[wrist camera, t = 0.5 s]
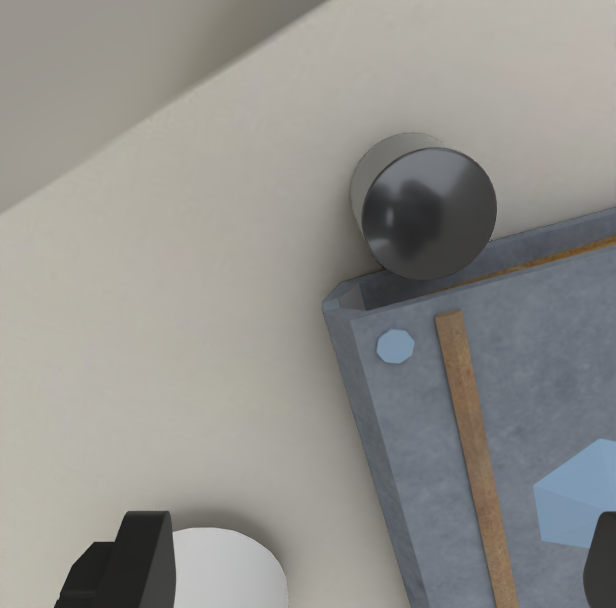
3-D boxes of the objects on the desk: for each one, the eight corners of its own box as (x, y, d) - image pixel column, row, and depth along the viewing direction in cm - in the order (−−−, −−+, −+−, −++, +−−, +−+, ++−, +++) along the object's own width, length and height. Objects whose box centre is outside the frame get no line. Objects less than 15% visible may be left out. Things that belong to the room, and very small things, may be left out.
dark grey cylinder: (330, 168, 22) (338, 189, 18) (436, 110, 21) (467, 121, 17) (379, 264, 23) (395, 303, 20) (480, 214, 23) (516, 244, 19)
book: (319, 284, 23) (326, 338, 19) (731, 171, 22) (846, 200, 18) (420, 626, 32) (442, 722, 27) (727, 559, 30) (805, 648, 26)
